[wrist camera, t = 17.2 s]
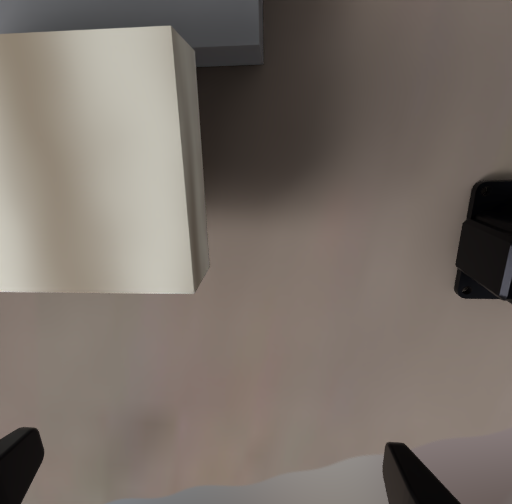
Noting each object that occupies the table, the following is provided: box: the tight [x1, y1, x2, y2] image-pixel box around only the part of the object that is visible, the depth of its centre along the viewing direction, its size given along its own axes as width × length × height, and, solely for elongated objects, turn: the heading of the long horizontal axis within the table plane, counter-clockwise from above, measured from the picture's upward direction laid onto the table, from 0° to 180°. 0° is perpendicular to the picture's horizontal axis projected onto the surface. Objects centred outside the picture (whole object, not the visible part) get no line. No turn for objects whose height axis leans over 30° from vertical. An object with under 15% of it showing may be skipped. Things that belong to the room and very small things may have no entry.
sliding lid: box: [0, 26, 210, 294], centre depth 13 cm, size 9×9×3 cm
